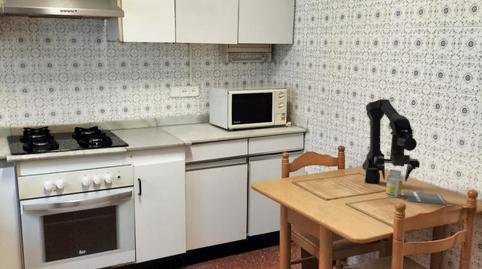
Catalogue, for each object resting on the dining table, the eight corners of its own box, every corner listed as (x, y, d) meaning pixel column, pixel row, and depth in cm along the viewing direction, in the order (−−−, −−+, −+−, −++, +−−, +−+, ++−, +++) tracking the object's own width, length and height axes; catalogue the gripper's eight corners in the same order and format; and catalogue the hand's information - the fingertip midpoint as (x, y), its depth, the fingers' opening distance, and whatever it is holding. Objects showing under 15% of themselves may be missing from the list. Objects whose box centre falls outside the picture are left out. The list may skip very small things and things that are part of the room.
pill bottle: (400, 194, 212) (403, 169, 210) (400, 198, 206) (403, 173, 204) (386, 192, 214) (388, 168, 212) (385, 196, 208) (387, 171, 206)
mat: (407, 201, 202) (407, 199, 202) (402, 192, 215) (402, 190, 215) (446, 204, 199) (446, 203, 199) (439, 195, 212) (439, 194, 212)
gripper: (377, 148, 200) (374, 183, 202) (423, 151, 196) (419, 187, 199) (375, 143, 211) (372, 177, 213) (418, 146, 207) (415, 180, 210)
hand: (394, 180), depth 208 cm, fingers open, 9 cm apart
